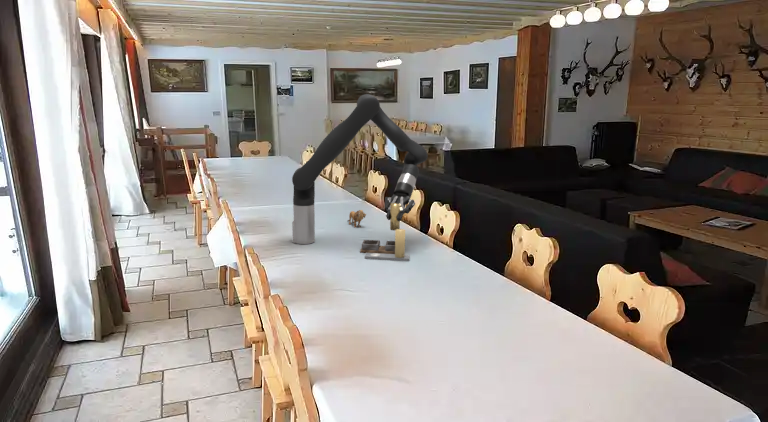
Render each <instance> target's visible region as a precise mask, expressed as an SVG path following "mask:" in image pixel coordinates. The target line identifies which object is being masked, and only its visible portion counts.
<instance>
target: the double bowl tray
mask: <svg viewBox="0 0 768 422" xmlns="http://www.w3.org/2000/svg"><path fill="white" fill-rule="evenodd" d="M359 252H360V253H363V254H366V253H381V254H395V240H386V242H385V244H384V245H381V240H379V239H363V241H362V242H361V247H360V249H359Z"/></svg>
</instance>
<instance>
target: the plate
mask: <svg viewBox="0 0 768 422" xmlns="http://www.w3.org/2000/svg"><path fill="white" fill-rule="evenodd" d="M394 234H395V235H394V236H395V237H394V241H395V254H381V253H365V254H364V259H365V260H377V261H378V260H380V261H397V262H398V261H400V262H401V261H402V262H403V261H405V262H410V257H411V255H410V254H406V253H405V252H406V229H404V228H400V229H396V230H394Z"/></svg>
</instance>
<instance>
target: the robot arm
mask: <svg viewBox="0 0 768 422" xmlns="http://www.w3.org/2000/svg"><path fill="white" fill-rule="evenodd" d="M370 121H371V122H373V123H374V124H375V125H376V126H377V127H378V128H379V130H380V131H381V132H382V133H383V134H384V135H385V137H386V138H387V139H388V141H390V142H391V143H392V145H394V147H396V148H397V149H398V150H399V151H400V152H407V153H406V154H405V156H404V159H403V169H402V172H401V174H400V177H399V178H398V180H397V183H396V186H395V189H394V191H393V194H392V196H391V197H390V196H389V197H388V196H385V197H384V208H385V210H386V212H387V213H386V215H385V217H386V219H387V220H388V221H390V206H391V203H400V211H399V214H398V216H397V221H400V222H401V221H402V219H403V217H404V215H405V214H407V215H408V214H409V213H410V211H412V209H413V208H414V207H415V206H416V202H415V199H411V197H412V195H413V192H414V190H415V186H416V183H417V179H418V176H419V173H420V169H419V167H418V165H420V164H422V163H425V162H426V161H427V159H428V156H429V155H428V152H427V150H426V149H425V148H424V147H423V146H422V145H421V144H419V143H417V141H415V140H413V139H411V138H410V136H408V134H406V133H405V131H404V130H403V129H402V128H401V127H400V126H399V125H397V123H395V122H394V121H393V120H392V118H390V117H389V116H388V114H386V113H385V112H384V110H383V108H381V105H380V101H379V99H378V98H377V97H376V96H374V95H372V94H369V93H366V94H361V95H360V96H359V97H358V99H357V101H356V106H355V108H354V109H353V111H352V112H350V114H349V115H348V116H347V117H346V118H345V119H344V120H342V121H341V122H340V123H339V124H338V125H337V126H335V127H334V128H333V129H332V130H330V132H329V133H328V134H327V135H326V137H325V138H324V139H322V141H321V142H320V144H319V146H318V147H317V148H316V150H315V151H314V153H313V155H312V156H311V157H310V158H309V159H308V160H307V161H306V162H305V163H304V164H303V165H302V166H301V167H298V168H297V169H296V170H295V171H294V173H293V174H292V177H291V178H292V179H291V181H292V184H293V198H292V202H293V206H292V207H293V209H292V210H293V221H292V223H291V224H292V226H291V227H292V228H291V229H292V243H294V244H298V245H308V244H313V243H315V242H316V239H315V238H316V234H315V232H316V229H315V227H316V223H315V218H316V216H315V214H316V213H315V212H316V211H315V195H316V193H315V192H316V191H315V189H316V188H315V187H316V186H315V185H316V183H315V181H316V180H317V178H318V177H319V176H320V174H321V173H322V172H323V171H324V170H325V168H327V167H328V166H329V165H330V164H331V163H332V162H333V161H335V159H337V157H338V156H340V154H341V153H342V152H343V151H344V150H345V149H346V148H347V146H349V144H350V143H351V142H352V140H353V139H354V138H355V137H356V136H357V134H358V133H359V132H360V131H361V129H362V128H363V127H365V126H366V124H367V123H368V122H370Z"/></svg>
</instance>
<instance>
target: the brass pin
mask: <svg viewBox="0 0 768 422" xmlns="http://www.w3.org/2000/svg"><path fill="white" fill-rule="evenodd" d="M390 205H391V206H390ZM390 205H389V207H390V220H389V221H390V222H389V226H390V227H389V230H390V231H395V230H396V229H401V228H400V225H401V220H400V221H397V216H398V214H399V211H400V203H392V202H390Z"/></svg>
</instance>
